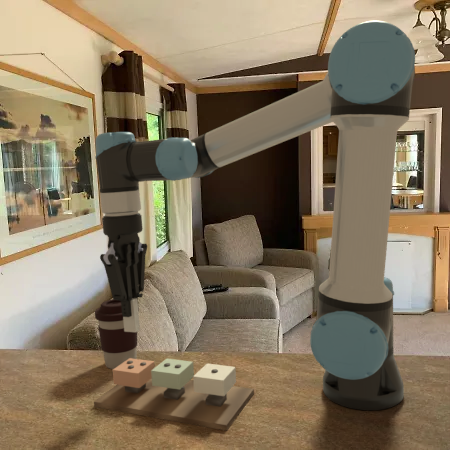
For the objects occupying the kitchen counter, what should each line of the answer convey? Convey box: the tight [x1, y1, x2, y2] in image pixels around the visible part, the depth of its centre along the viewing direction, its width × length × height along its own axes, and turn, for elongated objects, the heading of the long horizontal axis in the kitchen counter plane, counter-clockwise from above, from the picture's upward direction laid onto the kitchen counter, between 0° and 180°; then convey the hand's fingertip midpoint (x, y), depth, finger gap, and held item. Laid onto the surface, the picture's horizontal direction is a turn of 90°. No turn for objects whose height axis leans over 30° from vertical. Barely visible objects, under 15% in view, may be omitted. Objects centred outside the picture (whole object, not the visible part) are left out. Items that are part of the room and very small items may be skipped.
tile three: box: [112, 358, 156, 388], centre depth 98 cm, size 6×6×3 cm
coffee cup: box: [94, 298, 140, 370], centre depth 113 cm, size 10×10×15 cm
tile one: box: [192, 363, 237, 396], centre depth 91 cm, size 6×6×3 cm
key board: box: [93, 378, 255, 431], centre depth 95 cm, size 28×14×2 cm, turn 67°
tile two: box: [151, 358, 195, 390], centre depth 94 cm, size 6×6×3 cm
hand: (132, 330), depth 97 cm, fingers closed
